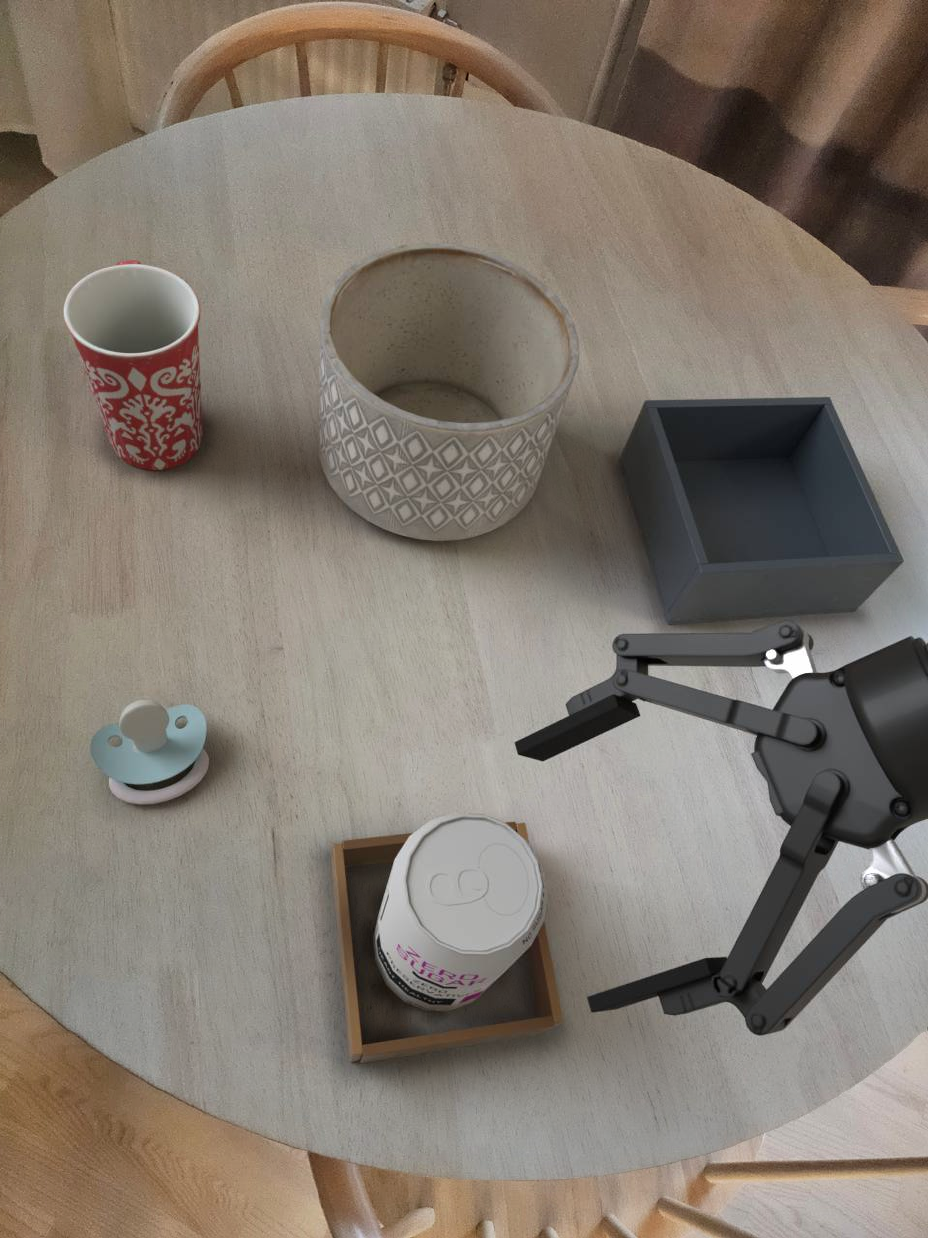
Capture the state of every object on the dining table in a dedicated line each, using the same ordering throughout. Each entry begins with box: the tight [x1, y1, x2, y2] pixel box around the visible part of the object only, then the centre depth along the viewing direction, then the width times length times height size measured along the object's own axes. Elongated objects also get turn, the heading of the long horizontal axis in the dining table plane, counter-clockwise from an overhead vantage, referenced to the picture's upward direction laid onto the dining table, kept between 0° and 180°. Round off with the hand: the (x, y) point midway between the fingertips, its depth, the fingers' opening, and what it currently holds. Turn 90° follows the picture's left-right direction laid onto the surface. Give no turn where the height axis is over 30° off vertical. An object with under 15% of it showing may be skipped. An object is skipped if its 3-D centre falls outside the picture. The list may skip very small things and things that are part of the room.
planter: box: [317, 242, 580, 542], centre depth 74 cm, size 19×19×14 cm
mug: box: [62, 259, 204, 471], centre depth 72 cm, size 13×9×14 cm
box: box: [330, 821, 564, 1064], centre depth 58 cm, size 12×12×4 cm
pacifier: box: [89, 699, 210, 806], centre depth 61 cm, size 7×6×6 cm
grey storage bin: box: [618, 396, 905, 626], centre depth 77 cm, size 17×17×8 cm
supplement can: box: [372, 812, 549, 1012], centre depth 54 cm, size 8×8×15 cm
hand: (562, 870), depth 50 cm, fingers open, 13 cm apart
